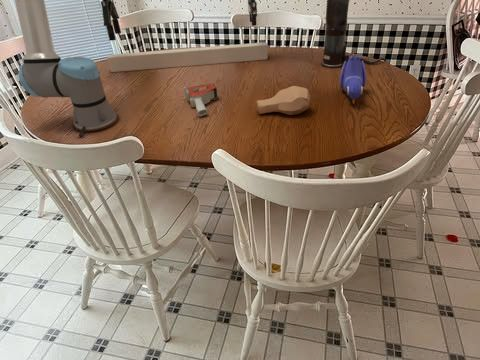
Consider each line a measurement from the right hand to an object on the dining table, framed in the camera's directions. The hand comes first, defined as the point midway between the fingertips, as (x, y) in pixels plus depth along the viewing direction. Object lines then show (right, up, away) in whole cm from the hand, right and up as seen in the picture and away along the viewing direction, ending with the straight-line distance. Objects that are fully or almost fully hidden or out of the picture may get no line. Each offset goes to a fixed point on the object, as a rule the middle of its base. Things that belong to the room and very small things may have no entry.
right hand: (253, 23), depth 174 cm
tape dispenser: (-22, -47, -33) cm, 61 cm away
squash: (+10, -52, -42) cm, 67 cm away
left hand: (-67, -8, -3) cm, 67 cm away
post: (-32, -17, +8) cm, 37 cm away
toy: (+38, -44, -34) cm, 67 cm away
